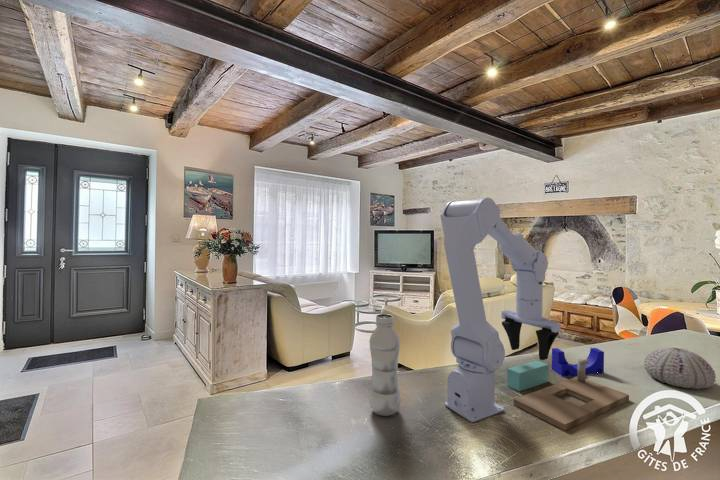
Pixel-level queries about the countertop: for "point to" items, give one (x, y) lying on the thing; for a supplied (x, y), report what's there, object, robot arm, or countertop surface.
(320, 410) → the countertop surface
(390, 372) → the plastic bottle
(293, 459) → the countertop surface
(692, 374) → the sea urchin shell
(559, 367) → the blue concave arch block
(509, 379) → the teal rectangular block
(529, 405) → the slotted wooden board
